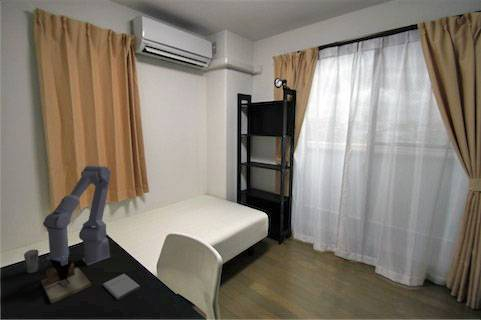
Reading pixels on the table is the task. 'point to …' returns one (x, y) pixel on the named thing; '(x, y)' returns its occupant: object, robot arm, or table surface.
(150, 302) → the table surface
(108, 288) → the external hard drive
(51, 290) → the board
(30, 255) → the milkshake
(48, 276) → the block
